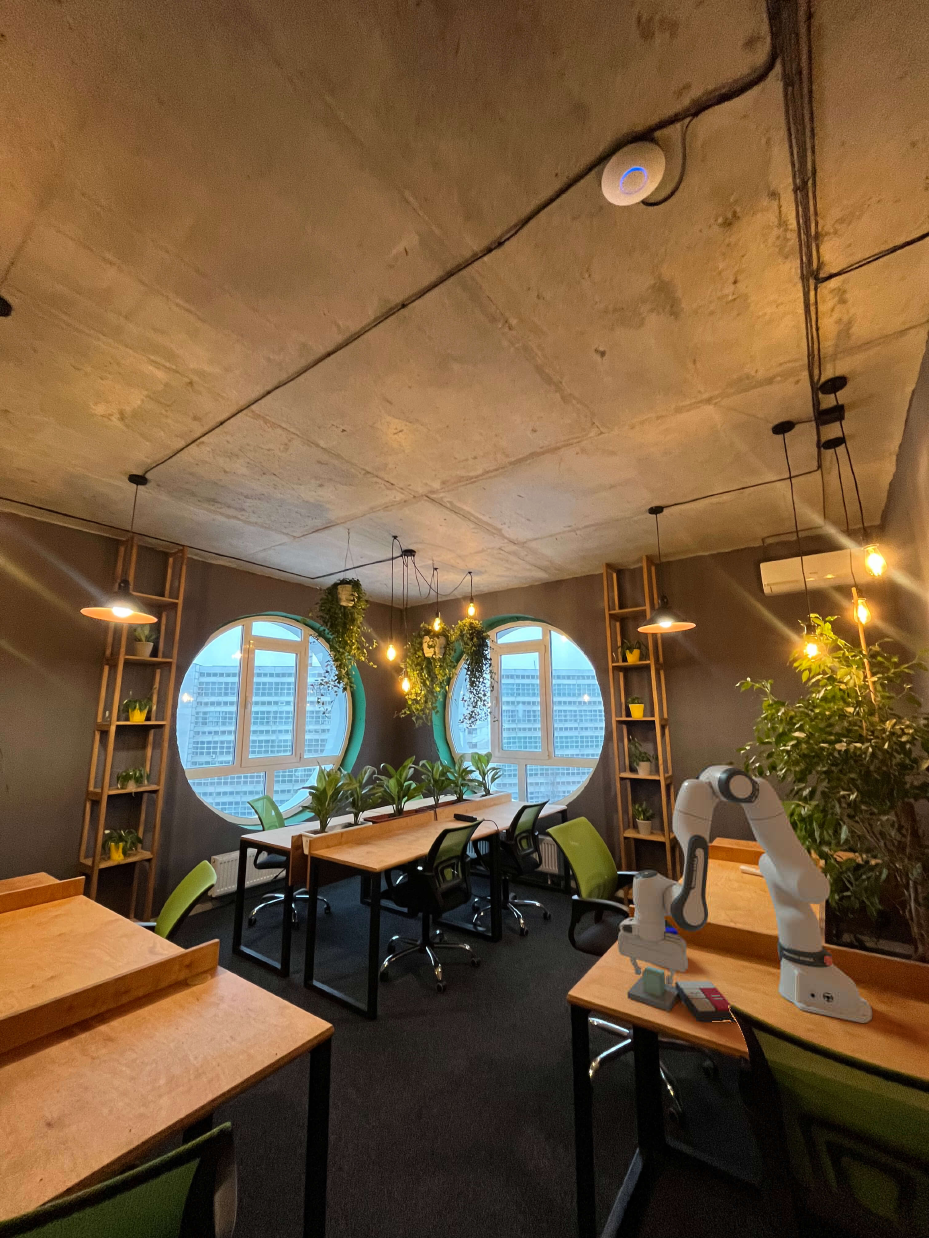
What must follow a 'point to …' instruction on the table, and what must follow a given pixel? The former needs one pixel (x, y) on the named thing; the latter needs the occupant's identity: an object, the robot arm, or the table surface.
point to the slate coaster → (654, 996)
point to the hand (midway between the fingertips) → (653, 978)
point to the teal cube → (653, 981)
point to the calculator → (704, 1001)
